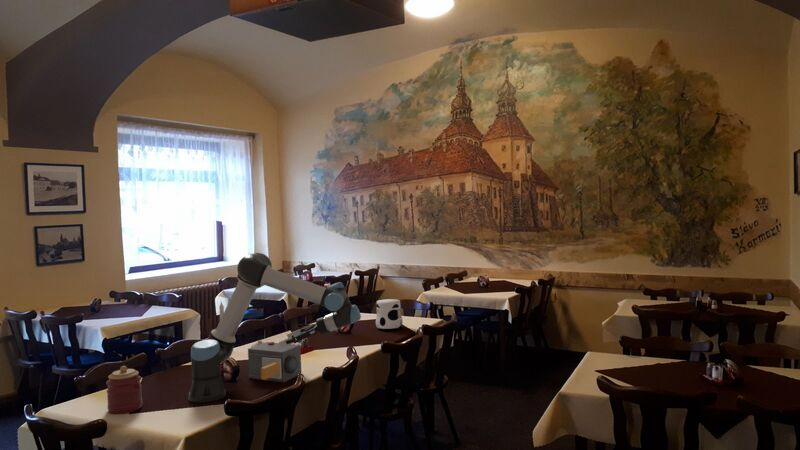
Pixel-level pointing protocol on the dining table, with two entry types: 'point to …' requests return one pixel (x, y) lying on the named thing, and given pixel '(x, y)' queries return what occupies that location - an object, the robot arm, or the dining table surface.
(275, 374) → the side door
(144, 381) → the dining table surface
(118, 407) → the canister
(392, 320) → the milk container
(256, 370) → the camera body
